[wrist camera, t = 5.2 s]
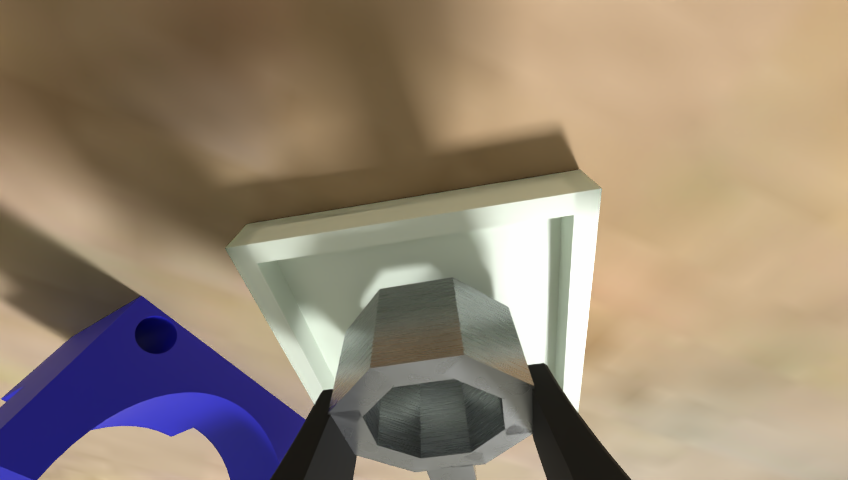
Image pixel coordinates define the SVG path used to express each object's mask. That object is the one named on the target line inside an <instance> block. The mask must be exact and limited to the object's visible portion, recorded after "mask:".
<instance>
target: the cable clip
mask: <svg viewBox="0 0 848 480" xmlns="http://www.w3.org/2000/svg"><path fill="white" fill-rule="evenodd" d="M1 399H2V400H4V401H6V403H5V404H4V405H2V406H1V407H0V480H38V478H39V477H40V476H41V475H42V474H43V473H44V472H45V471H46V470H47V469H48V468H49V467H50V465H51V464H52V463H53V462H54V461H55V460H56V459H57V458H58V457H59V456H61V455H62V454H63V453H64V452H65V451H66V450H67V449H68V448H69V447H70V446H71V445H72V444H74V443H75V442H76V441H77V440H79V439H80V438H81V437H83V436H84V435H85V434H86V433H88V432H89V431H90V430H93V429H99V428H105V427H113V426H138V427H145V428H149V429H153V430H157V431H159V432H162V433H164V434H167V435H169V436H171V437H172V436H174V435H176V434H179V433H181V432H184V431H186V430H188V429H191V428H195V429H197V430H198V431H199V432H201V433H202V434H203V435H204V436H206V438H207V439H208V440H209V441H210V442H211V443H212V444H213V445H214V447H215V448H216V449H217V451H218V452H219V454H220V456H221V457H222V459H223V461H224V463H225V466H226V468H227V470H228V474H229V477H230V480H270V478H271V477H272V475H273V474H274V472H275V471H276V469H277V468H278V466H279V464H280V463H281V461H282V459H283V458H284V456H285V454H286V453H287V451H288V449H289V448H290V446H291V444H292V443H293V441H294V439H295V438H296V436H297V434H298V433H299V431H300V429H301V427H302V426H303V424H304V422H305V419H304V418H303V417H301V416H300V415H299V414H297V413H296V412H295V411H293V410H292V409H291V408H289V407H288V406H287V405H285V404H284V403H283V402H281V401H280V400H279V399H277V398H276V397H275V396H273V395H272V394H271V393H269V392H268V391H267V390H265V389H264V388H263V387H261V386H260V385H259V384H258V383H256V382H255V381H254V380H252V379H251V378H250V377H248V376H247V375H246V374H244V373H243V372H242V371H240V370H239V369H238V368H236V367H235V366H234V365H232V364H231V363H230V362H228V361H227V360H226V359H224V358H223V357H222V356H220V355H219V354H218V353H216V352H215V351H214V350H213V349H211V348H210V347H209V346H207V345H206V344H205V343H203V342H202V341H201V340H199V339H198V338H197V337H195V336H194V335H193V334H191V333H190V332H189V331H187V330H186V329H185V328H183V327H182V326H181V325H179V324H178V323H177V322H175V321H174V320H173V319H171V318H170V317H169V316H168V315H166V314H165V313H164V312H162V311H161V310H160V309H158V308H157V307H156V306H154V305H153V304H152V303H150V302H149V301H148V300H146V299H145V298H144V297H142V296H140V297H138V298H137V299H135V300H133V301H132V302H130V303H128V304H127V305H125V306H123V307H121V308H120V309H118V310H116V311H115V312H113V313H111V314H110V315H108V316H106V317H105V318H103V319H101V320H99V321H98V322H96V323H94V324H93V325H91V326H89V327H88V328H86V329H84V330H83V331H81V332H79V333H78V334H76V335H74V336H72V337H71V338H70V339H69V340H68V341H66V342H65V343H64V344H63V345H62V346H61V347H60V348H58V349H57V350H56V351H55V352H54V353H53V354H52V355H50V356H49V357H48V358H47V359H46V360H45V361H44V362H42V363H41V364H40V365H39V366H38V367H37V368H36V369H34V370H33V371H32V372H31V373H30V374H29V375H28V376H26V377H25V378H24V379H23V380H22V381H21V382H20V383H18V384H17V385H16V386H15V387H14V388H13V389H12V390H10V391H9V392H8V393H7V394H6V395H5V396H4V397H2V398H1Z"/></svg>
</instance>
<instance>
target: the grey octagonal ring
mask: <svg viewBox="0 0 848 480" xmlns="http://www.w3.org/2000/svg"><path fill="white" fill-rule="evenodd" d="M532 389H534V383H533V380H532V377H531V374H530V371H529V368H528V365H527V362H526V359H525V356H524V353H523V350H522V347H521V344H520V341H519V338H518V335H517V331H516V328H515V325H514V322H513V319H512V316H511V313H510V310H509V307H508V306H506V305H504V304H502V303H500V302H498V301H496V300H494V299H493V298H491V297H489V296H487V295H485V294H483V293H481V292H479V291H478V290H476V289H474V288H472V287H470V286H468V285H466V284H464V283H463V282H461V281H459V280H457V279H455V278H453V277H451V278H445V279H438V280H432V281H426V282H420V283H414V284H407V285H401V286H395V287H389V288H383V289H379V290H378V292H377V293H376V294H375V295H374V297H373V298H372V299H371V301H370V302H369V303H368V304H367V306H366V307H365V308H364V309H363V311H362V312H361V313H360V314H359V316H358V317H357V318H356V319H355V321H354V322H353V323H352V324H351V326H350V327H349V328H348V329H347V331H346V332H345V337H344V341H343V346H342V350H341V355H340V360H339V364H338V369H337V374H336V378H335V383H334V387H333V392H332V397H331V401H330V406H329V411H328V415H331V416H332V418H333V419H334V421H335V423H336V424H337V426H338V428H339V429H340V431H341V432H342V434H343V436H344V437H345V439H346V441H347V442H348V444H349V446H350V447H351V449H352V451H353V452H354V454H355V455H357V456H361V457H364V458H368V459H371V460H375V461H378V462H382V463H385V464H389V465H392V466H396V467H399V468H403V469H406V470H410V471H413V472H421V471H427V473H428V475H429V478H430V480H477V477H476V470H475V465H481V464H486V463H487V462H489V461H491V460H492V459H494V458H495V457H497V456H498V455H500V454H502V453H503V452H505V451H506V450H508V449H509V448H511V447H512V446H514V445H516V444H517V443H519V442H520V441H522V440H523V439H525V438H527V437H528V436H530V435H531V434H533V409H532Z"/></svg>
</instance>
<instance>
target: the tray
mask: <svg viewBox="0 0 848 480" xmlns="http://www.w3.org/2000/svg"><path fill="white" fill-rule="evenodd" d="M601 192H602V188H601V187H600V186H598V185H597V184H596V183H595V182H594V181H593V180H592V179H590V178H589V177H588V176H587V175H586V174H585V173H584V172H582V171H581V170H574V171H568V172H562V173H555V174H549V175H543V176H537V177H531V178H525V179H519V180H513V181H507V182H500V183H494V184H488V185H482V186H476V187H470V188H464V189H458V190H452V191H445V192H439V193H433V194H427V195H421V196H415V197H409V198H403V199H397V200H390V201H384V202H378V203H372V204H366V205H360V206H354V207H348V208H342V209H335V210H329V211H323V212H317V213H311V214H305V215H299V216H293V217H287V218H280V219H274V220H268V221H262V222H256V223H250V224H246V225H245V227H244V228H243V229H242V230H241V231H240V232H239V233H238V234H237V235H236V236H235V238H234V239H233V240H232V241H231V242H230V243H229V244H228V245H227V246H226V248H225V249H226V251H227V252H228V254H229V256H230V258H231V259H232V261H233V263H234V265H235V266H236V268H237V270H238V272H239V273H240V275H241V277H242V279H243V280H244V282H245V284H246V286H247V287H248V289H249V291H250V293H251V294H252V296H253V298H254V300H255V301H256V303H257V305H258V307H259V308H260V310H261V312H262V314H263V315H264V317H265V319H266V321H267V322H268V324H269V326H270V328H271V329H272V331H273V333H274V335H275V336H276V338H277V340H278V342H279V343H280V345H281V347H282V349H283V350H284V352H285V354H286V356H287V357H288V359H289V361H290V363H291V364H292V366H293V368H294V370H295V371H296V373H297V375H298V377H299V378H300V380H301V382H302V384H303V385H304V387H305V389H306V391H307V392H308V394H309V396H310V398H311V399H312V401H313V403H314V404H315V403H316V401H317V399H318V397H319V395H320V394H321V392H322V391H323V390H328V389H333V387H334V383H335V378H336V374H337V369H338V364H339V360H340V355H341V350H342V346H343V341H344V337H345V332H346V331H347V329H348V328H349V327H350V326H351V324H352V323H353V322H354V321H355V319H356V318H357V317H358V316H359V314H360V313H361V312H362V311H363V309H364V308H365V307H366V306H367V304H368V303H369V302H370V301H371V299H372V298H373V297H374V295H375V294H376V293H377V292H378V290H379V289H383V288H389V287H395V286H401V285H407V284H414V283H420V282H426V281H432V280H438V279H445V278H451V277H453V278H455V279H457V280H459V281H461V282H463V283H464V284H466V285H468V286H470V287H472V288H474V289H476V290H478V291H479V292H481V293H483V294H485V295H487V296H489V297H491V298H493V299H494V300H496V301H498V302H500V303H502V304H504V305H506V306H508V307H509V310H510V313H511V316H512V319H513V322H514V325H515V328H516V331H517V335H518V338H519V341H520V344H521V347H522V350H523V353H524V356H525V359H526V362H527V365H532V364H540V363H544V364H546V365H547V366H548V367H549V369H550V371H551V373H552V374H553V376H554V378H555V379H556V381H557V383H558V384H559V386H560V387H561V389H562V390H563V392H564V393H565V395H566V396H567V398H568V399H569V401H570V402H571V403H572V405H573V406H574V408H575V409H576V411H577V412H578V410H579V400H580V391H581V381H582V372H583V362H584V353H585V343H586V334H587V324H588V315H589V305H590V296H591V286H592V277H593V267H594V258H595V248H596V239H597V229H598V220H599V211H600V201H601Z"/></svg>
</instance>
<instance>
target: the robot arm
mask: <svg viewBox="0 0 848 480" xmlns="http://www.w3.org/2000/svg"><path fill="white" fill-rule="evenodd" d="M528 368H529V371H530V374H531V377H532V380H533V383H534V389H532V409H533V439H534V442H535V445H536V448H537V451H538V454H539V457H540V460H541V463H542V466H543V469H544V472H545V474H546V477H547V480H631V479H630V478H629V476H628V475H627V474H626V473H625V472H624V471H623V469H622V468H621V467H620V466H619V465H618V463H617V462H616V461H615V460H614V458H613V457H612V456H611V455H610V454H609V452H608V451H607V450H606V449H605V447H604V446H603V445H602V444H601V442H600V441H599V440H598V439H597V437H596V436H595V435H594V433H593V432H592V431H591V429H590V428H589V427H588V425H587V424H586V423H585V421H584V420H583V419H582V418H581V416H580V415H579V413H578V412H577V411H576V409H575V408H574V406H573V405H572V403H571V402H570V401H569V399H568V398H567V396H566V395H565V393H564V392H563V390H562V389H561V387H560V386H559V384H558V383H557V381H556V379H555V378H554V376H553V374H552V373H551V371H550V369H549V367H548V366H547V365H546V364H544V363H540V364H532V365H528ZM332 392H333V389H328V390H323V391H322V392H321V394H320V395H319V397H318V399H317V401H316V403H315V404H314V406H313V408H312V410H311V411H310V413H309V415H308V417H307V419H306V420H305V422H304V424H303V426H302V427H301V429H300V431H299V433H298V434H297V436H296V438H295V439H294V441H293V443H292V444H291V446H290V448H289V449H288V451H287V453H286V454H285V456H284V458H283V459H282V461H281V463H280V464H279V466H278V468H277V469H276V471H275V472H274V474H273V475H272V477H271V478H270V480H353V475H354V470H355V464H356V456H357V455H355V454H354V452H353V451H352V449H351V447H350V446H349V444H348V442H347V441H346V439H345V437H344V436H343V434H342V432H341V431H340V429H339V428H338V426H337V424H336V423H335V421H334V419H333V418H332V416H331V415H328V411H329V406H330V401H331V397H332Z"/></svg>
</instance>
